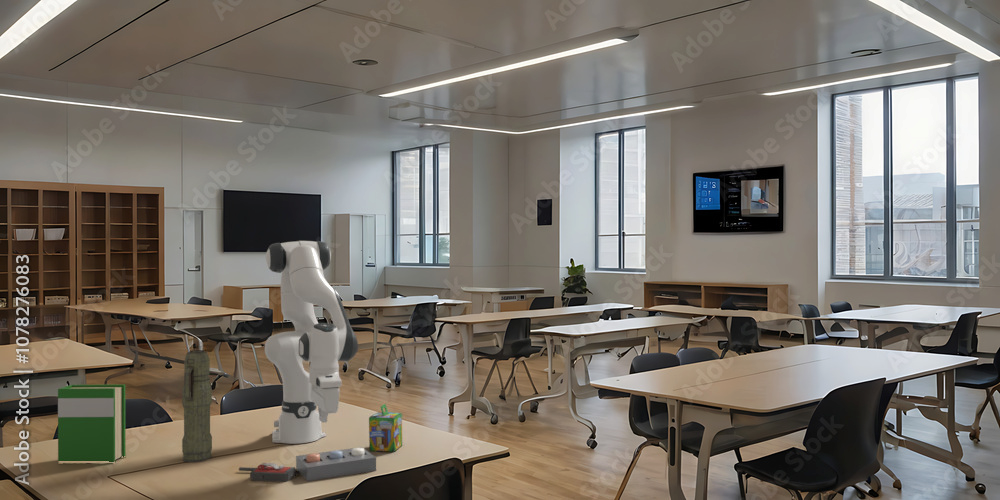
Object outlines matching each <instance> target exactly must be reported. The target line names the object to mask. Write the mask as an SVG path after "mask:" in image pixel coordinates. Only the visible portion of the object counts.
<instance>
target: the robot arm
mask: <svg viewBox="0 0 1000 500" xmlns="http://www.w3.org/2000/svg"><path fill="white" fill-rule="evenodd" d="M265 253H266V255H265V262H266V264H267V266H268V269H269V270H270V271H271V272H273V273H277V274H281V278H280V303H281V304H280V306H281V309H280V310H281V314H282V316H283V317H284V318H285V319H287V320H289V321H290V322H291V323H292V324H293V326H294V327H293V328H294V330H292V331H283V332H282V331H281V332H279V333H276V334H273V335H271V336H269V337H268V338H267V339H266V341H265V344H264V354H265V357H266V359H268V360H269V362H271V364H273V365H275V367H276V368H277V370H278V372H279V373H280V376H281V378H282V379H281V380H282V391H283V393H282V394H283V399H282V401H281V412H280V414H279V417H278V419H277V420H273V428H276V429H274V430H272V434H271V437H272V441H271V442H272V443H274V444H275V443H277V444H278V443H282V444H288V445H289V444H294V445H295V444H306V443H311V442H315V441H318V440H320V439H321V438H324V437H326V436H327V435H326V432H324V431H322V423H323V424H324V423H327V422H328V417H329V414H336V413H337V412H338V409H339V403H340V388H341V387H342V379H341V377H340V365H339V362H349V361H351V360H352V359H354V357H355V356H356V354H357V353H358V350H359V345H358V344H359V342H358V339H357V336H356V333H355V331H354V330H353V328H352V325H351V324H350V320H349V318H348V315H347V312H346V310H345V308H344V305H343V301H342V300H341V297H340V294H339V292H338V290H337V289H336V288H335V287H333V286H331V284H329V282H328V281H327V279H326V277H325V275H324V270H326V269H327V268H328V267H329V266H330V262H331V259H332V252H331V249H330V247H329V244H328V243H327V242H325V241H320V240H316V241H313V240H296V241H287V242H286V241H285V242H281V243H280V242H276V243H272V244H270V245H269V247H268V248H267V250H266V252H265ZM314 305H316V306H318V307H321V308H323V309H325V310H326V311H327V312H328V314H329V315H330V317H331V320H332V323H328V322H318V319H317V317H316V314H315V310H314V309H315V308H314ZM303 362H310V363H309V368H308V370H309V371H306V370H305V368H304V365H303Z"/></svg>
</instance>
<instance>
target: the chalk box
mask: <svg viewBox="0 0 1000 500" xmlns="http://www.w3.org/2000/svg"><path fill="white" fill-rule="evenodd" d="M384 410H385V411H384ZM368 435H369V436H368V441H369V444H368V445H369V450H368V452H391V453H392V452H393V453H394V452H396V451H397V450H399V449H400V448H402V446H403V413H401V412H391V411H390V412H389V411H388V407H387V404H386V403H384V404H382V405H381V406H380V411H379V412H376V413H374V414H372V415H370V416H369V418H368Z"/></svg>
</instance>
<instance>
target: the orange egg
mask: <svg viewBox="0 0 1000 500" xmlns="http://www.w3.org/2000/svg"><path fill="white" fill-rule="evenodd" d="M318 453H319V452H317V453H316V452H313V453H308V455H307V454H305V455H306V462H307V463H312V462H319V461H320V454H318Z"/></svg>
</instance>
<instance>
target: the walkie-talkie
mask: <svg viewBox="0 0 1000 500" xmlns="http://www.w3.org/2000/svg"><path fill="white" fill-rule="evenodd" d="M238 471H240V472H241V471H242V472H243V471H244V472H250V473H249V476H250V481H255V482H256V481H257V482H281V483H282V482H283V483H287V482H289V481H291V480H292V479H293V478H295V477H296V475H300V473H299V472H300V471H298V470H296V467H295V466H294V467H293V466H285V465H284V464H280V465H277V464H276V463H275V462H274V463H273V462H272V463H271V462H262V463H261V464H259V465H258V466H257V467H247V466H246V467H245V466H244V467H243V466H239V468H238ZM294 476H295V477H294Z"/></svg>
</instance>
